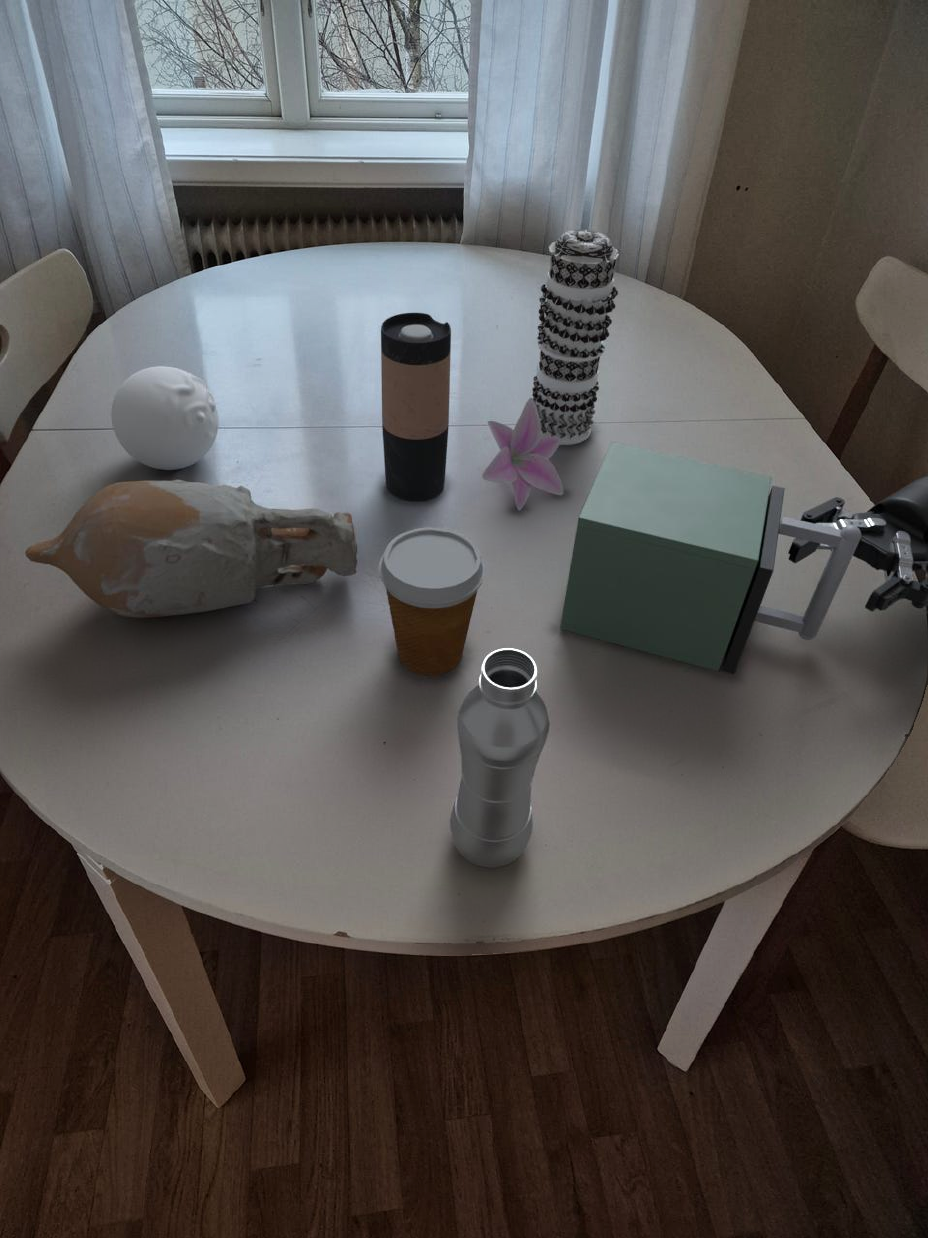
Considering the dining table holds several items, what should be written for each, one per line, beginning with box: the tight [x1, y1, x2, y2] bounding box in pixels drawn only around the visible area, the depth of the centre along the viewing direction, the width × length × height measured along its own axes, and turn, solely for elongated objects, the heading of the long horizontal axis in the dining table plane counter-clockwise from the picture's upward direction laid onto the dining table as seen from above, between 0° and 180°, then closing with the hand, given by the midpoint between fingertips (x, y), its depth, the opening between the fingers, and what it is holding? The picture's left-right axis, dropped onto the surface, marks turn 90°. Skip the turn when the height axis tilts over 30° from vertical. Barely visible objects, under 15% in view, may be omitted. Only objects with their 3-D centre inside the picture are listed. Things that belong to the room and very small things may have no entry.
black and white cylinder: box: [531, 229, 620, 446], centre depth 107 cm, size 9×9×25 cm
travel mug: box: [380, 312, 452, 502], centre depth 98 cm, size 8×8×20 cm
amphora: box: [25, 479, 359, 619], centre depth 84 cm, size 14×16×30 cm
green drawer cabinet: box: [559, 441, 772, 672], centre depth 86 cm, size 16×14×14 cm
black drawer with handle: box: [721, 485, 861, 675], centre depth 84 cm, size 22×14×15 cm, turn 70°
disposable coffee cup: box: [378, 526, 487, 676], centre depth 80 cm, size 10×10×12 cm
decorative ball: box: [110, 365, 220, 471], centre depth 102 cm, size 12×12×12 cm
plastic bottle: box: [449, 647, 550, 869], centre depth 62 cm, size 6×7×20 cm
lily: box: [481, 397, 565, 511], centre depth 103 cm, size 12×12×10 cm
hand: (831, 577), depth 81 cm, fingers open, 8 cm apart
